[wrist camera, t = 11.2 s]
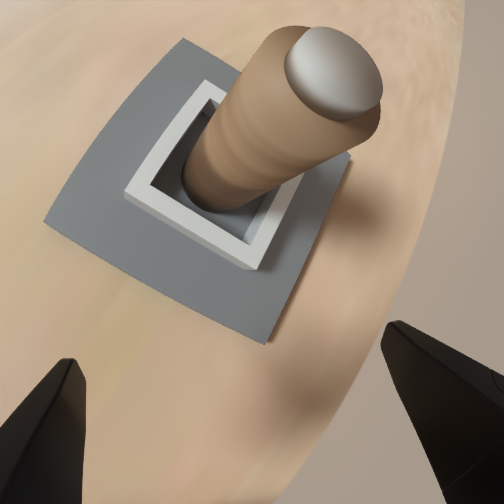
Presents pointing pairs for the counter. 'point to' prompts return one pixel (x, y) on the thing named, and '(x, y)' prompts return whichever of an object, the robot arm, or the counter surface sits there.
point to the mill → (284, 117)
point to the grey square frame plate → (190, 203)
